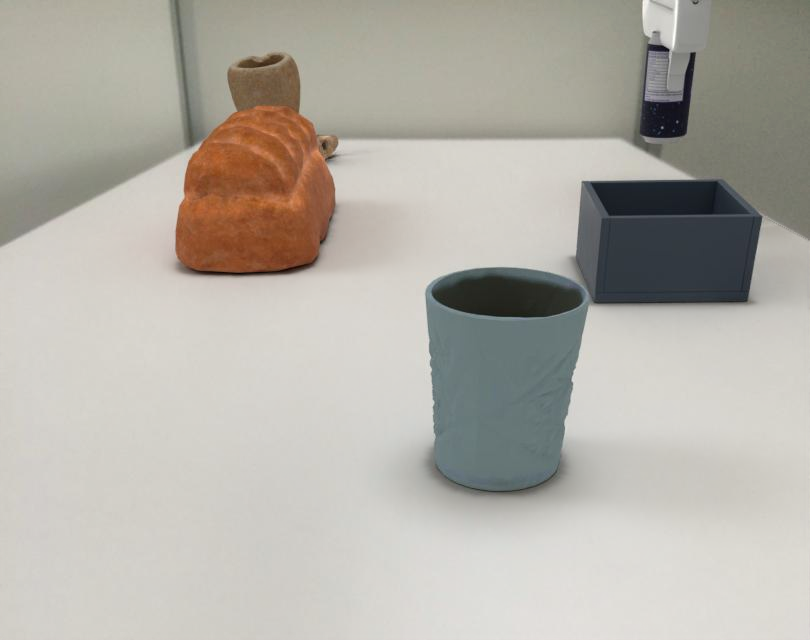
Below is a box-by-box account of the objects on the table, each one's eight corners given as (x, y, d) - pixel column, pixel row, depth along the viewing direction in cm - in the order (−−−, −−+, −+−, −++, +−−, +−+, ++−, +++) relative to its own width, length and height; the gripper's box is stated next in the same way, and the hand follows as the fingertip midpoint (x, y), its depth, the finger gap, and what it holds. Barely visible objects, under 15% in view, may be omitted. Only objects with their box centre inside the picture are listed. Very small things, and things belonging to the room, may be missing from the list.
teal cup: (403, 444, 69) (400, 278, 62) (527, 417, 72) (536, 256, 66) (468, 511, 61) (472, 329, 55) (604, 477, 64) (622, 301, 58)
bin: (711, 256, 105) (723, 178, 100) (747, 301, 92) (763, 216, 88) (575, 257, 105) (581, 180, 101) (594, 302, 93) (601, 218, 88)
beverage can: (695, 142, 118) (708, 31, 112) (655, 147, 117) (666, 35, 110) (668, 134, 123) (679, 28, 116) (629, 139, 121) (639, 31, 114)
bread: (341, 200, 128) (335, 92, 121) (314, 274, 102) (305, 142, 95) (224, 201, 129) (211, 94, 122) (167, 275, 102) (147, 144, 95)
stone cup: (223, 169, 145) (210, 58, 137) (248, 152, 155) (238, 48, 147) (321, 171, 143) (314, 58, 135) (340, 154, 152) (335, 48, 144)
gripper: (733, -47, 100) (714, 99, 107) (690, -52, 117) (677, 73, 125) (671, -44, 100) (657, 101, 108) (637, -50, 117) (627, 75, 125)
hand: (667, 86), depth 116 cm, fingers closed on beverage can, 5 cm apart
